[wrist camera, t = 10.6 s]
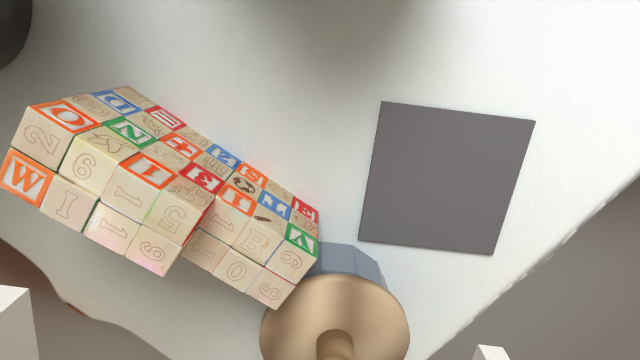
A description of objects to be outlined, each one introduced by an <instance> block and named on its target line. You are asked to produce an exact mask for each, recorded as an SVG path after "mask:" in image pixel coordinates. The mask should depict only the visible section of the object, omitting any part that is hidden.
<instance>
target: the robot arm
mask: <svg viewBox="0 0 640 360" xmlns="http://www.w3.org/2000/svg"><path fill="white" fill-rule="evenodd" d="M30 20H31V0H0V69H2V68H3V67H5V66H6V65H7V64H8V63H10V62H11V61H12V60H13V59H14V58H15V57H16V55H17V54H18V53H19V51H20V50H21V48H22V46H23V44H24V42H25V40H26V37H27V34H28V31H29V26H30ZM0 360H39V355H38V348H37V341H36V334H35V327H34V320H33V314H32V307H31V300H30V293H29V288H20V287H12V286H4V285H0ZM472 360H510V359H509V358H508V356H507V354H506V352H505V351H504V349H503V348H502V347H495V346H487V345H478V346H477V349H476V351H475V354H474V356H473V359H472Z"/></svg>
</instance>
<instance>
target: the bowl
mask: <svg viewBox="0 0 640 360" xmlns="http://www.w3.org/2000/svg"><path fill="white" fill-rule="evenodd" d="M323 274H349V275H355V276H359V277H363V278H366V279H369V280H371V281H374V282H375V283H377V284H379V285H381V286H383V287H384V288H385V289H387V290H388V288H387V284H386V282H385V280H384V278H383V275H382V273H381V271H380V268H379V266H378V264H377V262H376V261H375V260H373V259H372V258H370V257H369V256H367V255H366V254H364V253H363V252H362V251H360V250H359V249H357V248H356V247H354V246H353V245H345V244H336V243H327V242H320V243H318V254H317V260H316V261H315V262H314V264H313V265H312V266H311V267H310V268H309V270H308V271H307V272H306V273H305V275H304V276H303V277H302V278H301V280H303V279H305V278H309V277H312V276H317V275H323Z"/></svg>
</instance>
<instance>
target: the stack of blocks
mask: <svg viewBox="0 0 640 360" xmlns="http://www.w3.org/2000/svg"><path fill="white" fill-rule="evenodd" d="M11 145H12V146H13V147H11V148H10V149H9V150H8V152H7V154H6V157H5V159H4V162H3V164H2V166H1V169H0V187H1V188H3V189H5V190H6V191H8V192H10V193H12V194H14V195H16V196H17V197H19V198H21V199H22V200H24V201H26V202H28V203H30V204H31V205H33V206H35V207H37V208H40V212H41V213H43V214H45V215H47V216H49V217H51V218H52V219H54V220H56V221H58V222H60V223H62V224H63V225H65V226H67V227H69V228H71V229H73V230H75V231H77V232H79V233H81V232H83V233H84V235H85V236H86V237H88V238H89V239H91V240H93V241H95V242H97V243H99V244H101V245H102V246H104V247H106V248H108V249H110V250H112V251H114V252H115V253H117V254H119V255H124V256H125V257H126V258H128V259H129V260H131V261H133V262H135V263H137V264H139V265H141V266H142V267H144V268H146V269H148V270H150V271H152V272H154V273H156V274H157V275H159V276H161V277H164V276H165V275H166V273H167V272H168V271H169V269H170V268H171V267H172V265H173V264H174V263H175V261H176V260H177V259H178V258H179V256H181V257H183V258H185V259H187V260H188V261H190V262H192V263H194V264H195V265H197V266H199V267H201V268H202V269H204V270H206V271H208V272H209V273H212V275H213V276H215V277H216V278H218V279H220V280H221V281H223V282H225V283H227V284H228V285H230V286H232V287H234V288H235V289H237V290H239V291H241V292H243V293H246V294H248V295H249V296H251V297H253V298H254V299H256V300H258V301H260V302H261V303H263V304H265V305H267V306H268V307H270V308H272V309H273V310H277V309H278V308H279V306H280V305H281V304H282V303H283V301H284V300H285V299H286V298H287V296H288V295H289V294H290V293H291V292H292V290H293V289H294V288H295V286H296V284H297V283H298V282H299V281H300V280H301V278H302V277H303V276H304V275H305V273H306V272H307V271H308V270H309V268H310V267H311V266H312V265H313V264H314V262H315V261H316V260H317V254H318V240H317V236H318V225H317V224H318V211H316V210H315V209H313V208H312V207H310V206H308V205H307V204H305V203H304V202H302V201H301V200H299V199H297V198H296V197H294V196H293V194H291V193H290V192H288V191H287V190H285V189H284V188H282V187H281V186H279V185H278V184H276V183H275V182H273V181H272V180H270V179H268V178H267V177H266V176H264V175H263V174H261V173H260V172H258V171H257V170H255V169H254V168H252V167H251V166H249V165H248V164H246V163H245V162H241V161H240V160H239V159H237V158H236V157H234V156H233V155H231V154H230V153H228V152H227V151H225V150H224V149H222V148H221V147H219V146H218V145H216V144H214V143H213V142H211V141H210V140H208V139H207V138H205V137H204V136H202V135H201V134H199V133H198V132H196V131H195V130H193V129H191V128H190V127H188V126H187V125H186V124H185V123H184V122H182V121H181V120H179V119H178V118H176V117H175V116H173V115H172V114H170V113H169V112H167V111H166V110H164V109H163V108H161V107H160V106H158V105H157V104H156V103H154V102H153V101H151V100H150V99H148V98H147V97H145V96H144V95H142V94H141V93H139V92H138V91H136V90H135V89H133V88H132V87H130V86H125V87H121V88H115V89H111V90H107V91H102V92H97V93H90V94H79V95H74V96H70V97H64V98H60V100H58V101H52V102H46V103H41V104H35V105H31V106H28V107H27V108H26V110H25V113H24V115H23V118H22V120H21V122H20V124H19V127H18V129H17V131H16V133H15V135H14V137H13V140H12V142H11Z"/></svg>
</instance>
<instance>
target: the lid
mask: <svg viewBox="0 0 640 360" xmlns="http://www.w3.org/2000/svg"><path fill="white" fill-rule="evenodd" d="M259 340H260V349H261V353H262V356H263V358H264V360H403V359H404V357H405V356H406V353H407V350H408V347H409V342H410V332H409V326H408V323H407V320H406V316H405V313H404V310H403V308H402V307H401V305H400V303H399V302H398V300H397V299H396V298H395V297H394V296H393V295H392V294H391V293H390V292H389V291H388V290H387V289H385V288H384V287H383V286H381V285H379V284H377V283H375V282H374V281H371V280H369V279H366V278H363V277H359V276H355V275H349V274H323V275H317V276H312V277H309V278H305V279H303V280H300V281H299V282H298V283H297V284H296V286H295V288H294V289H293V290H292V292H291V293H290V294H289V295H288V296H287V298H286V299H285V300H284V301H283V303H282V304H281V305H280V306H279V308H278V309H277V310H273V309H272V308H270V307H268V308H267V309H266V311H265V314H264V316H263V319H262V325H261V331H260V336H259Z"/></svg>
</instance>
